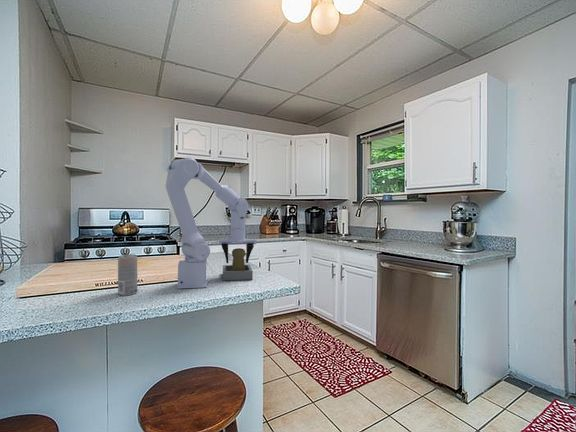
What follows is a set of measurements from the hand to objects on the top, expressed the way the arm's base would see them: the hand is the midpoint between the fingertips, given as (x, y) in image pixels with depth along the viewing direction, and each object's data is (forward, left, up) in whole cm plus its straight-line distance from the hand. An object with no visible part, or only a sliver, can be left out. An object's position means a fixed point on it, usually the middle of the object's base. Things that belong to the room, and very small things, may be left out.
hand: (237, 262), depth 113 cm
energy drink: (-35, -15, -6) cm, 39 cm away
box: (0, 0, -6) cm, 6 cm away
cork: (0, -1, -6) cm, 6 cm away
